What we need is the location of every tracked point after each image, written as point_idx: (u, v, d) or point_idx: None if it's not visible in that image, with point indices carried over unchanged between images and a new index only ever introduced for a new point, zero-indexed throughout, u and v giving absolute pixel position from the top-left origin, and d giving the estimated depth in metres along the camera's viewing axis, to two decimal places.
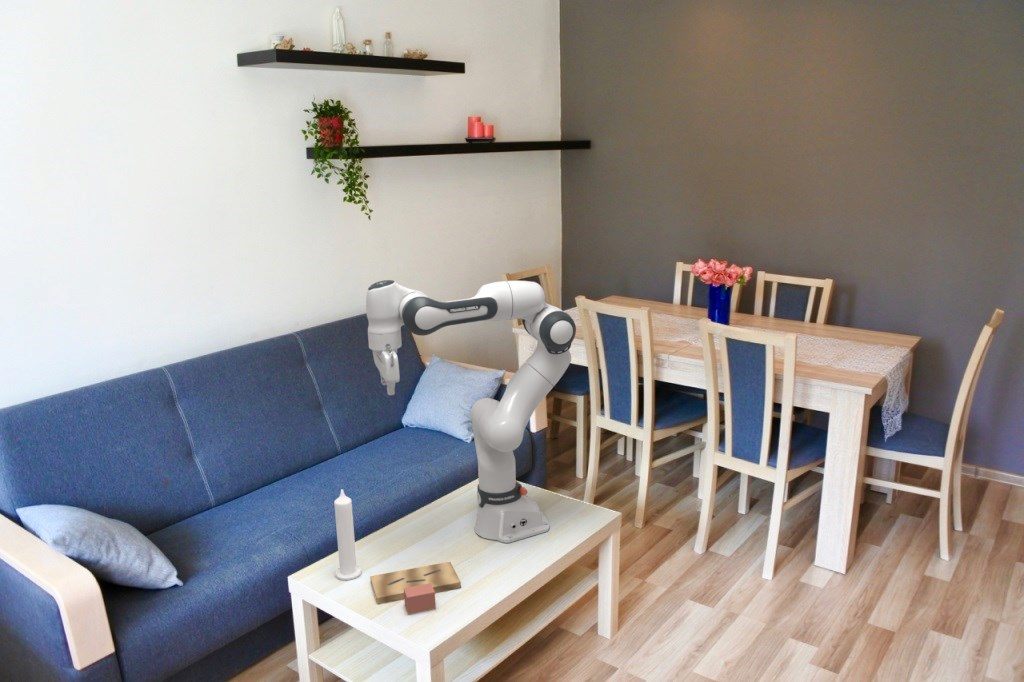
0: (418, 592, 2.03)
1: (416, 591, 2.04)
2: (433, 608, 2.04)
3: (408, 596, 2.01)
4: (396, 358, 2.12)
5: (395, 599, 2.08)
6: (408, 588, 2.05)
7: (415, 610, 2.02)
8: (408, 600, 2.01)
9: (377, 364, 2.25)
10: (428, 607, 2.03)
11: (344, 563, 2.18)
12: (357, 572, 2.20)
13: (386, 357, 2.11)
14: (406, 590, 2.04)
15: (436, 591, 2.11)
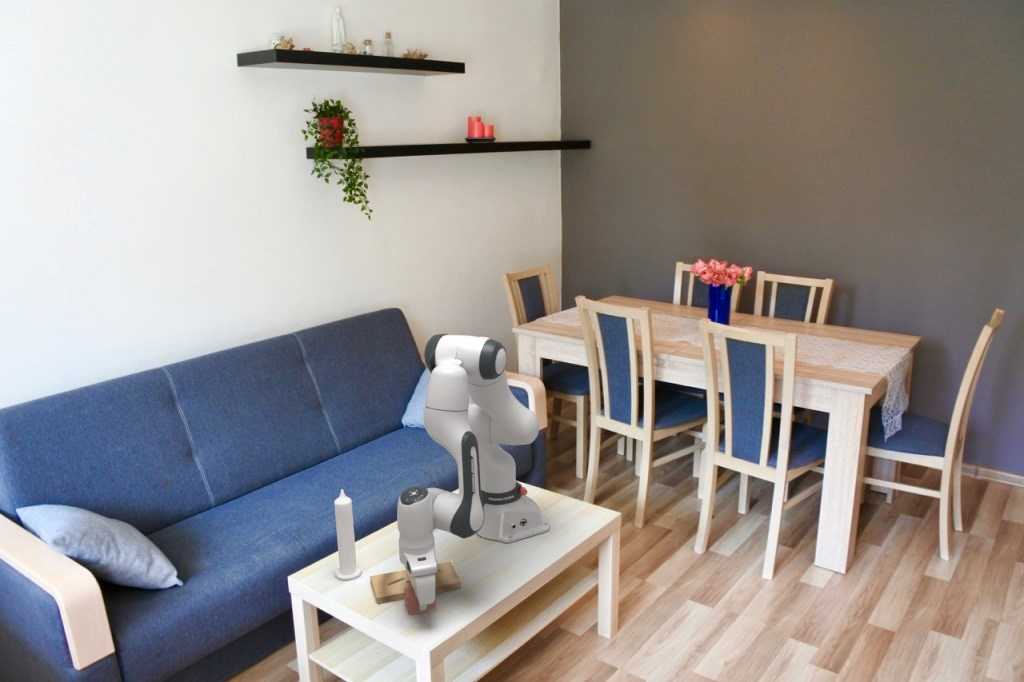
0: None
1: None
2: (433, 608, 2.04)
3: (408, 596, 2.01)
4: None
5: (395, 599, 2.08)
6: (408, 588, 2.05)
7: (415, 610, 2.02)
8: (408, 600, 2.01)
9: None
10: (428, 607, 2.03)
11: (344, 563, 2.18)
12: (357, 572, 2.20)
13: None
14: (406, 590, 2.04)
15: (436, 591, 2.11)
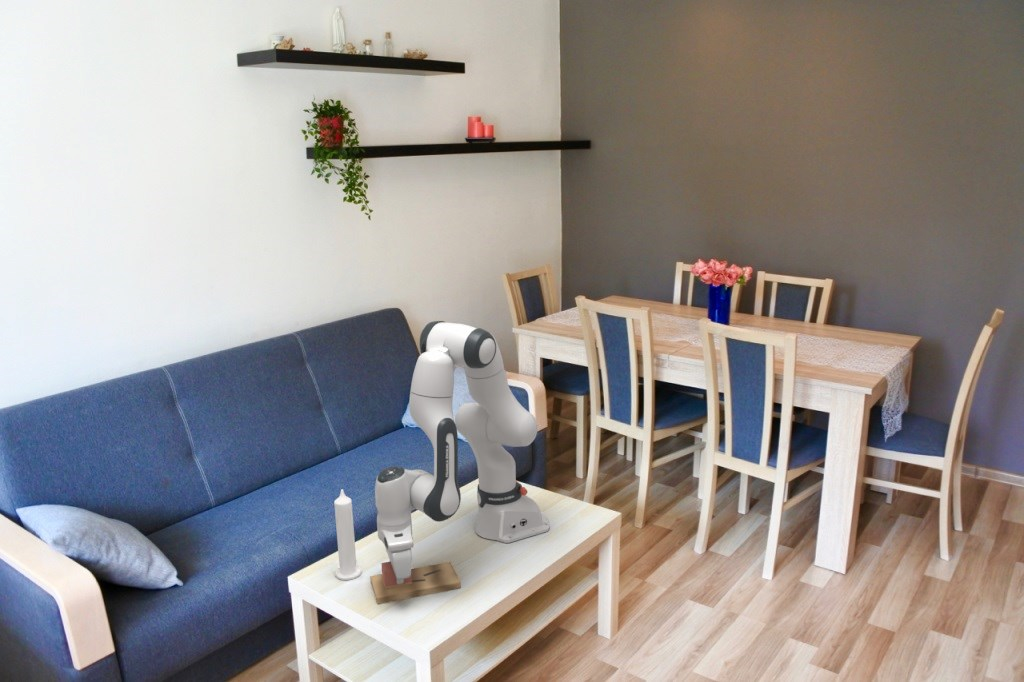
0: None
1: None
2: (410, 582, 2.12)
3: (385, 570, 2.10)
4: None
5: (395, 599, 2.08)
6: (386, 563, 2.13)
7: (392, 584, 2.11)
8: (385, 574, 2.09)
9: None
10: (405, 581, 2.12)
11: (344, 563, 2.18)
12: (357, 572, 2.20)
13: None
14: (384, 565, 2.12)
15: (436, 591, 2.11)
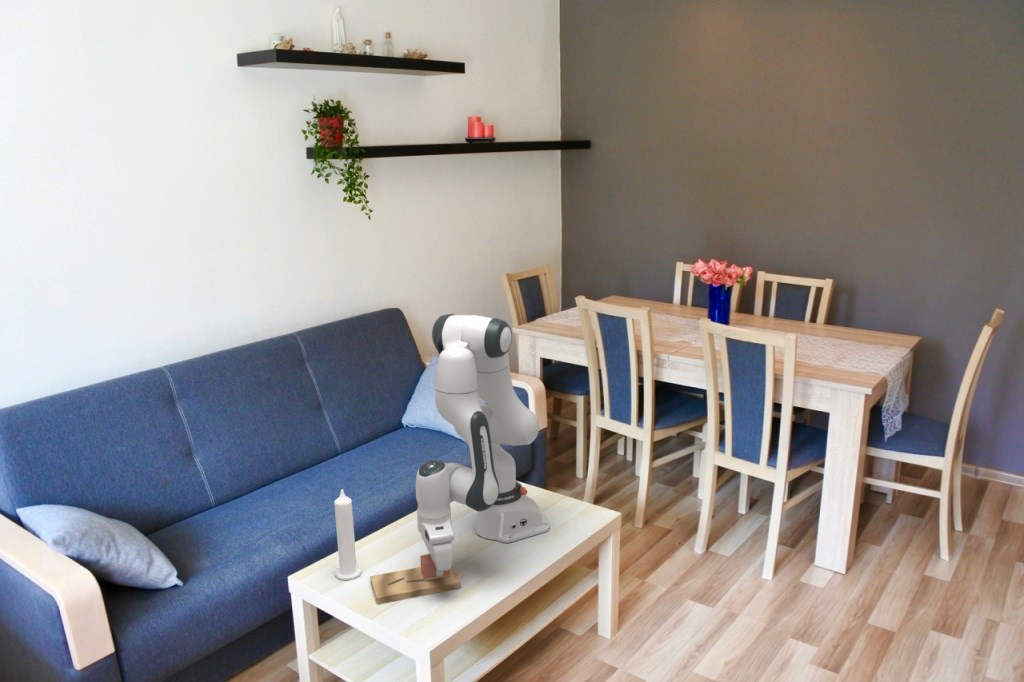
0: None
1: None
2: (448, 574, 2.15)
3: (424, 562, 2.12)
4: None
5: (395, 599, 2.08)
6: (424, 555, 2.16)
7: (431, 576, 2.14)
8: (424, 566, 2.12)
9: None
10: (443, 573, 2.14)
11: (344, 563, 2.18)
12: (357, 572, 2.20)
13: None
14: (423, 557, 2.15)
15: (436, 591, 2.11)
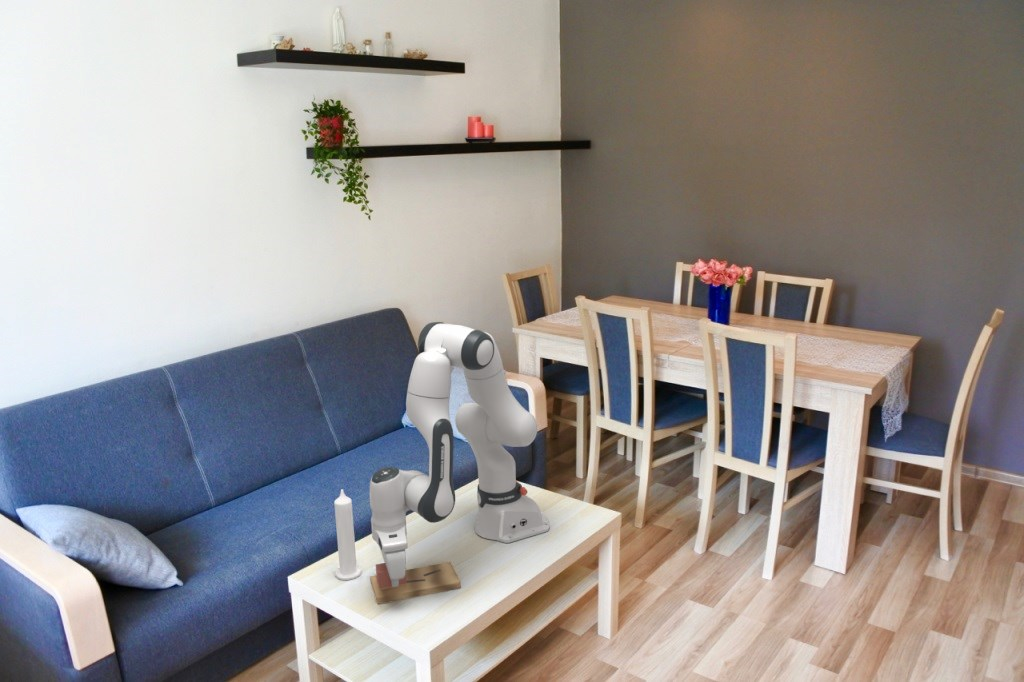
0: None
1: None
2: (404, 583, 2.11)
3: (379, 572, 2.09)
4: None
5: (395, 599, 2.08)
6: (380, 564, 2.12)
7: (386, 585, 2.10)
8: (379, 575, 2.09)
9: None
10: (399, 582, 2.11)
11: (344, 563, 2.18)
12: (357, 572, 2.20)
13: None
14: (378, 566, 2.11)
15: (436, 591, 2.11)
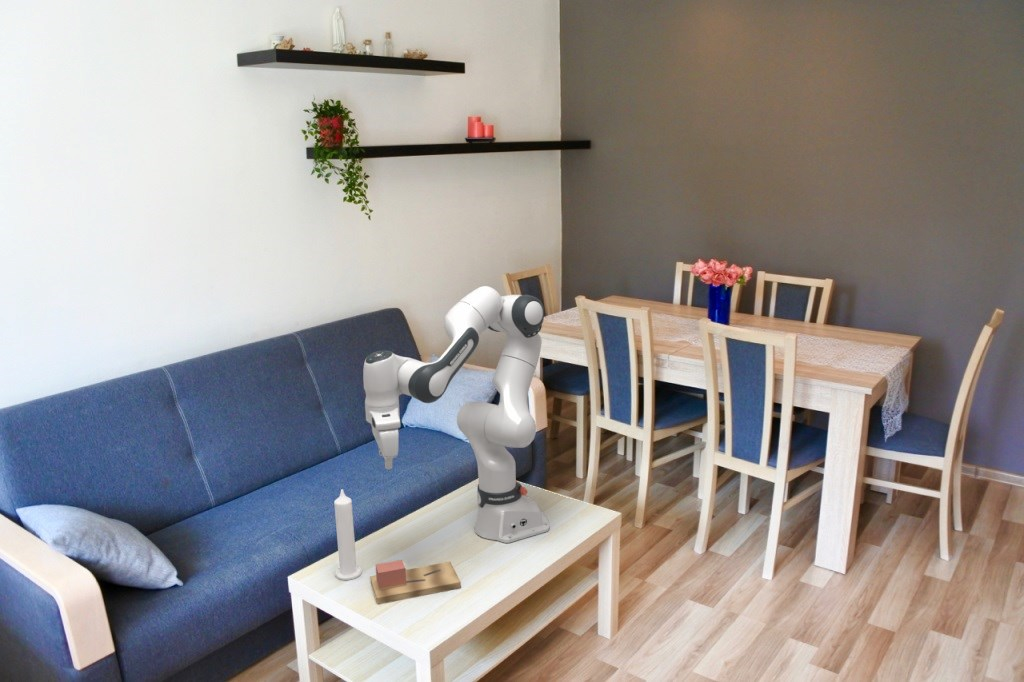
0: (389, 568, 2.10)
1: (387, 567, 2.11)
2: (404, 583, 2.11)
3: (379, 572, 2.09)
4: None
5: (395, 599, 2.08)
6: (380, 564, 2.12)
7: (386, 585, 2.10)
8: (379, 575, 2.09)
9: None
10: (399, 582, 2.11)
11: (344, 563, 2.18)
12: (357, 572, 2.20)
13: None
14: (378, 566, 2.11)
15: (436, 591, 2.11)
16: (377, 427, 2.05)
